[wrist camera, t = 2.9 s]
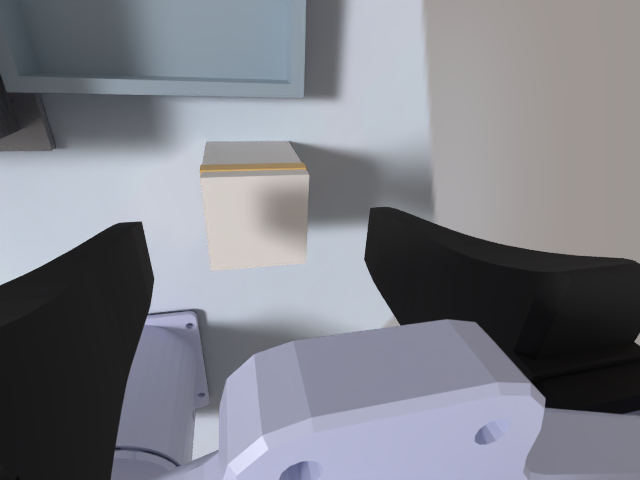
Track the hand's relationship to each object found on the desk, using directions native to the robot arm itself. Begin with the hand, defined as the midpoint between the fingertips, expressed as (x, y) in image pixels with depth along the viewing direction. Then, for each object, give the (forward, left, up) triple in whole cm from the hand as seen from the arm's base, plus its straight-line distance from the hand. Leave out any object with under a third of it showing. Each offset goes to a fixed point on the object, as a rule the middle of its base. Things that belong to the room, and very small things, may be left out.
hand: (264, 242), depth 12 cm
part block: (-1, 0, -10) cm, 10 cm away
